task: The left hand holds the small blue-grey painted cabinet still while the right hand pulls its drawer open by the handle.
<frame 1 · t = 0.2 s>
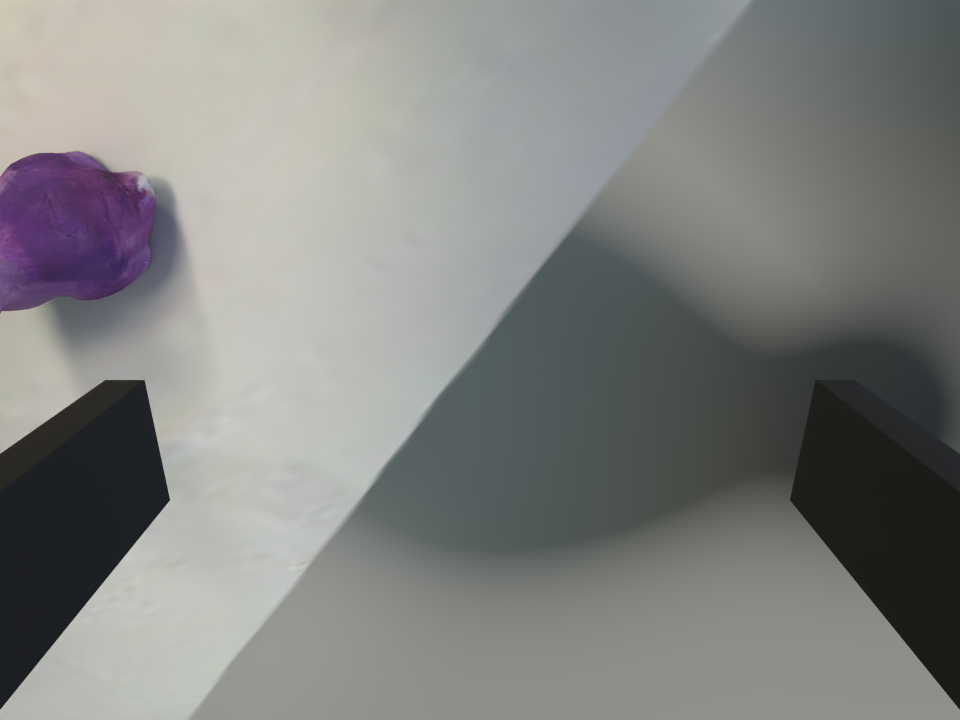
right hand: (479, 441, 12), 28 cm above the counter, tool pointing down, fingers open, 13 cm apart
figurine: (90, 234, 39), on the counter
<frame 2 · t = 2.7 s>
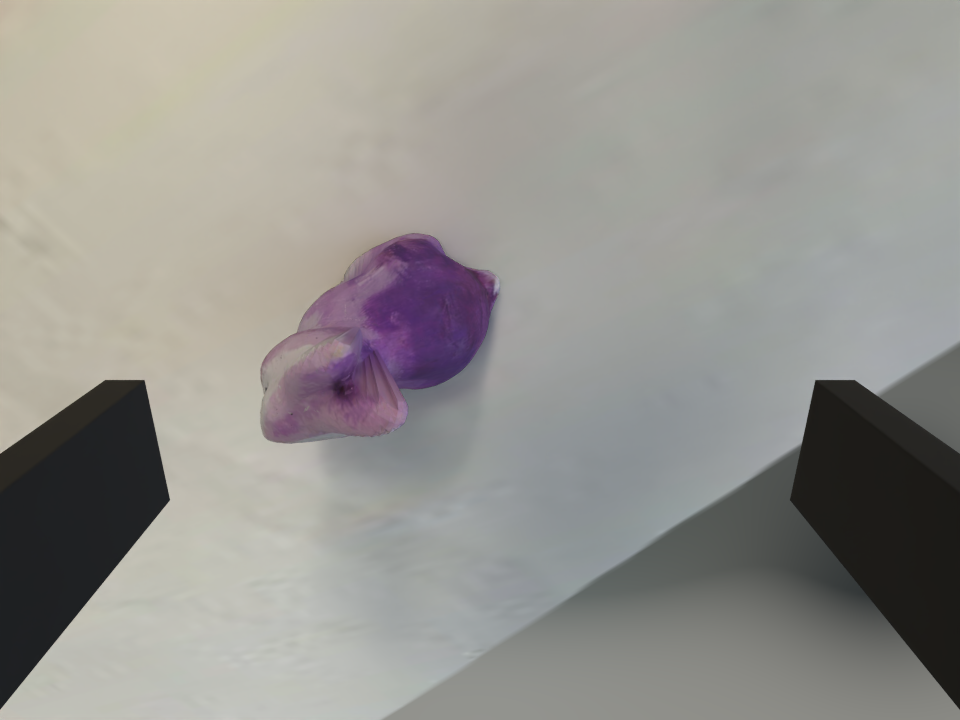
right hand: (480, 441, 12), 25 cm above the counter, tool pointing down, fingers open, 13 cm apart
figurine: (399, 310, 37), on the counter
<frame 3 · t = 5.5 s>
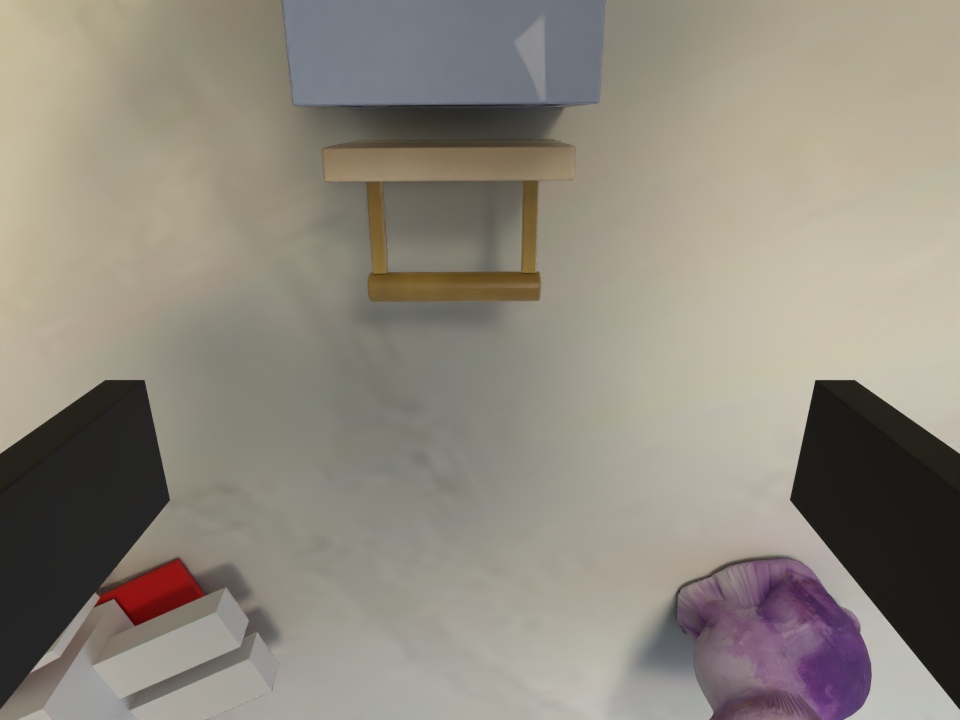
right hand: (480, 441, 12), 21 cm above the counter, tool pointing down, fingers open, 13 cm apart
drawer: (450, 16, 24), point 5 cm above the counter, slide at 1.4 cm
figurine: (742, 607, 41), on the counter
toy: (75, 654, 42), on the counter
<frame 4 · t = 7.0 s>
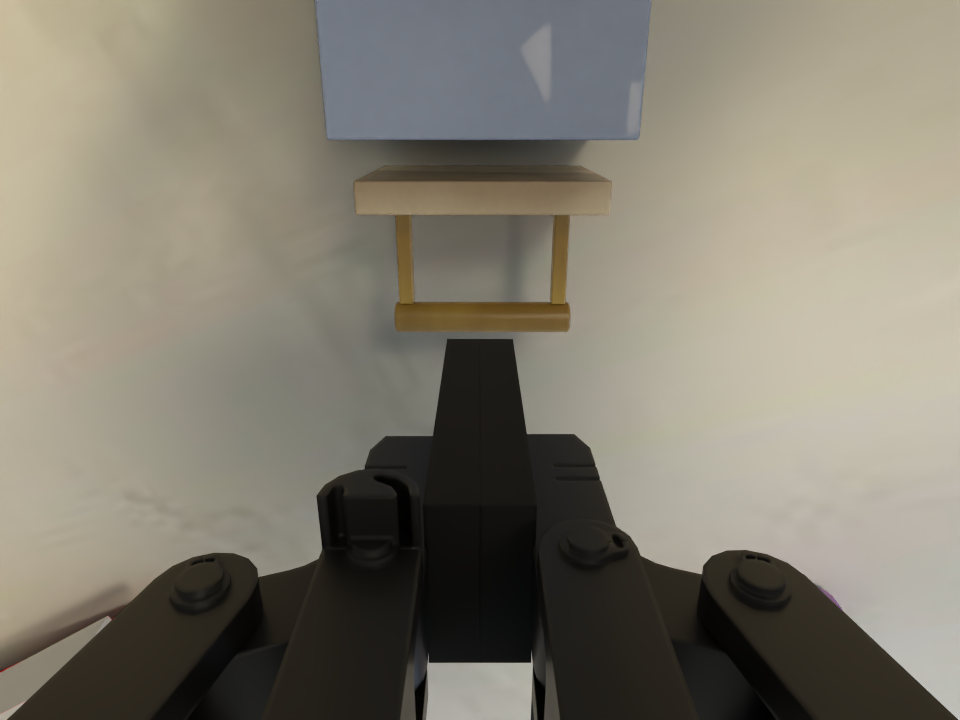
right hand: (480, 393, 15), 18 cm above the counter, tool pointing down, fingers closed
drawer: (482, 45, 24), point 5 cm above the counter, slide at 1.4 cm
toy: (86, 675, 42), on the counter
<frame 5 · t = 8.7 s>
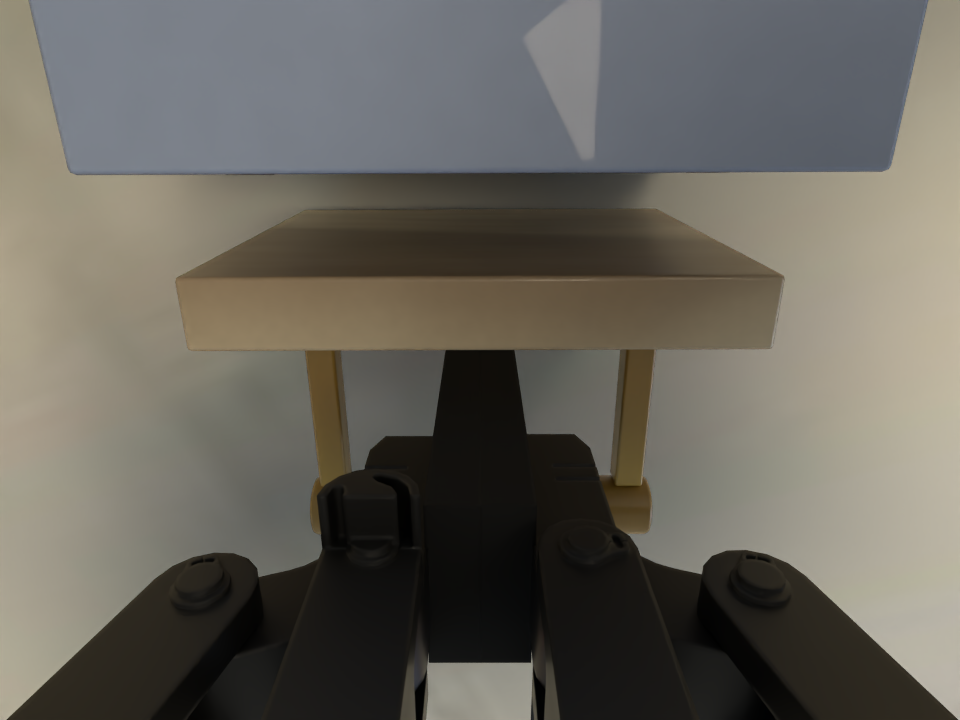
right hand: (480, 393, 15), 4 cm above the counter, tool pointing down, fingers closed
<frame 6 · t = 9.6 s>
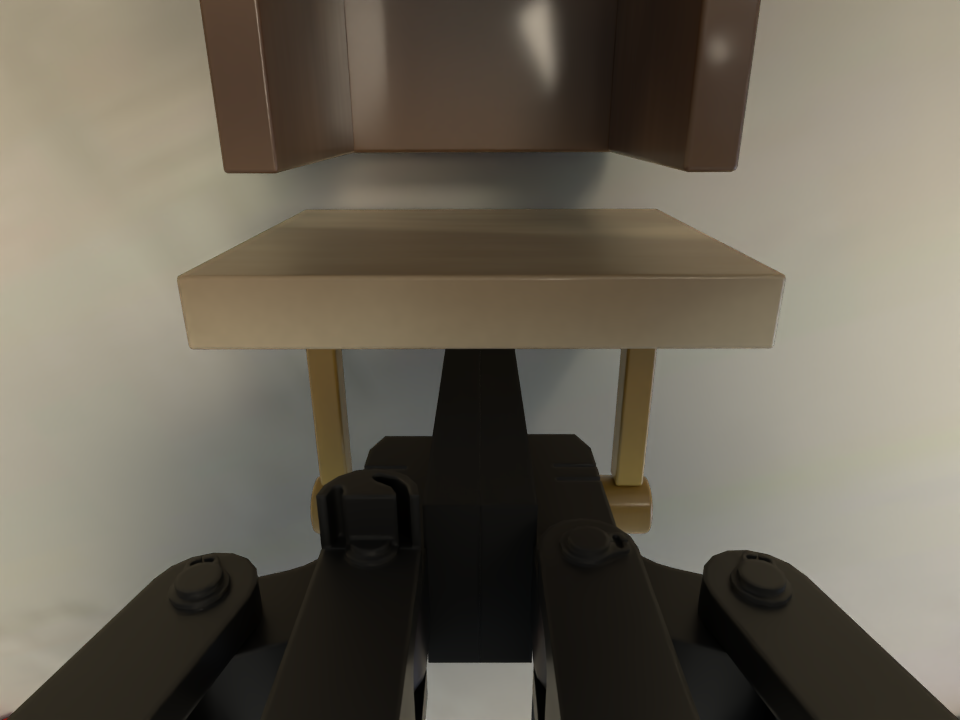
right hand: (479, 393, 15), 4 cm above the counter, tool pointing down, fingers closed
when the left hand's fingers open (4 cm above the counter, at t = 11.3 s): cabinet stays where it is, on the counter.
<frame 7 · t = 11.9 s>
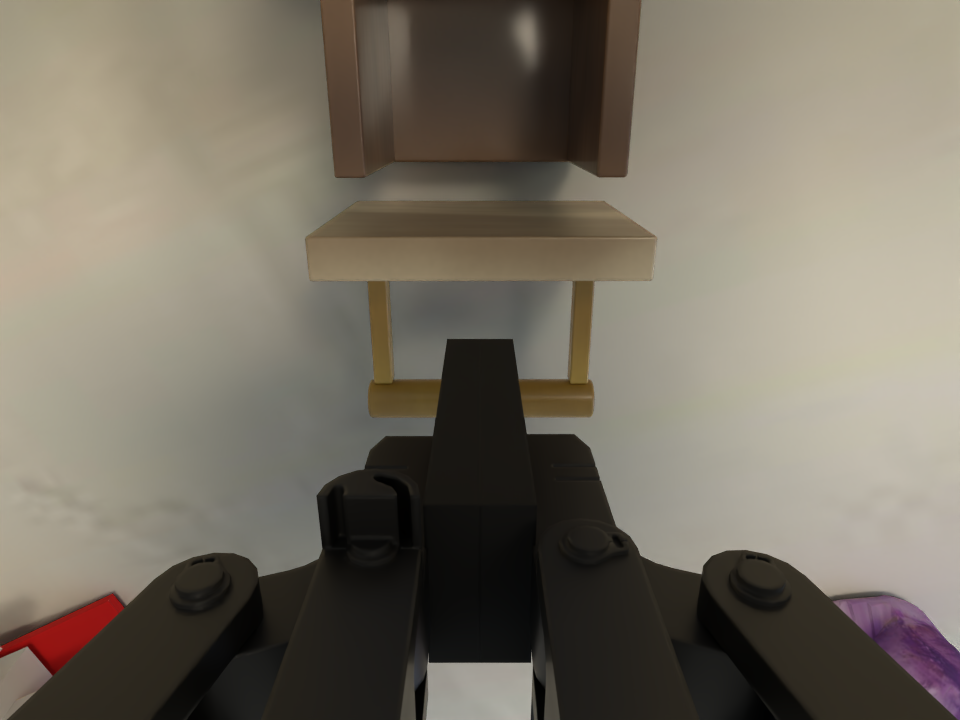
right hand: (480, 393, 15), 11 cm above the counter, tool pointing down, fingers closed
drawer: (480, 51, 18), point 5 cm above the counter, slide at 7.2 cm
figurine: (826, 655, 32), on the counter
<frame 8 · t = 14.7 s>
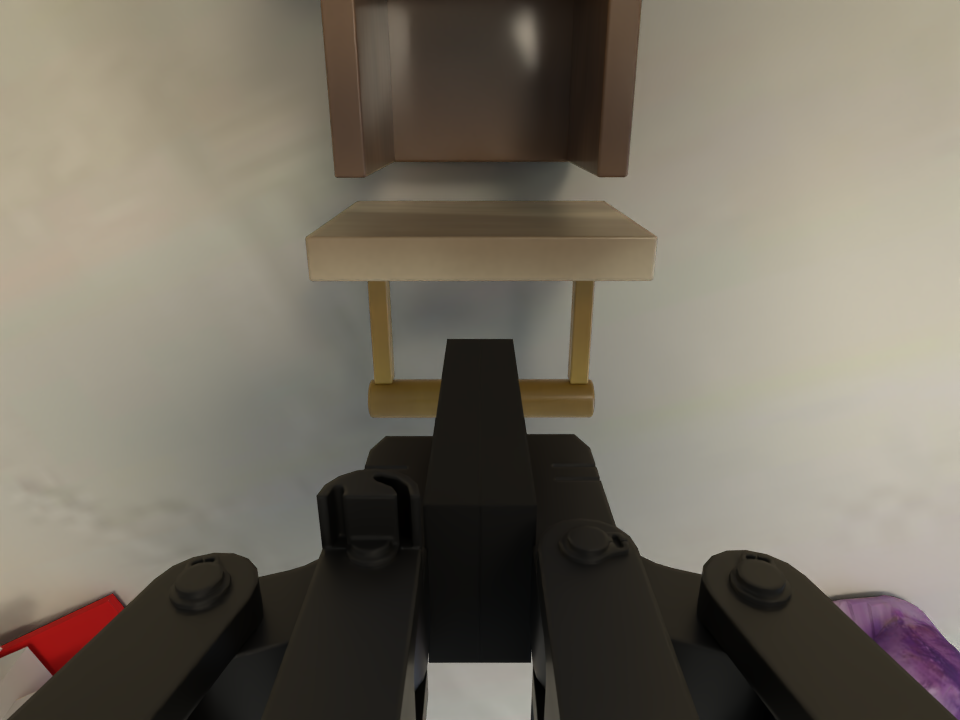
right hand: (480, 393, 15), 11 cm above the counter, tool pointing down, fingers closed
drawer: (481, 51, 18), point 5 cm above the counter, slide at 7.2 cm
figurine: (826, 655, 32), on the counter
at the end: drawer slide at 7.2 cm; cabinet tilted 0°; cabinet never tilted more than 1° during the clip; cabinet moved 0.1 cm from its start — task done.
